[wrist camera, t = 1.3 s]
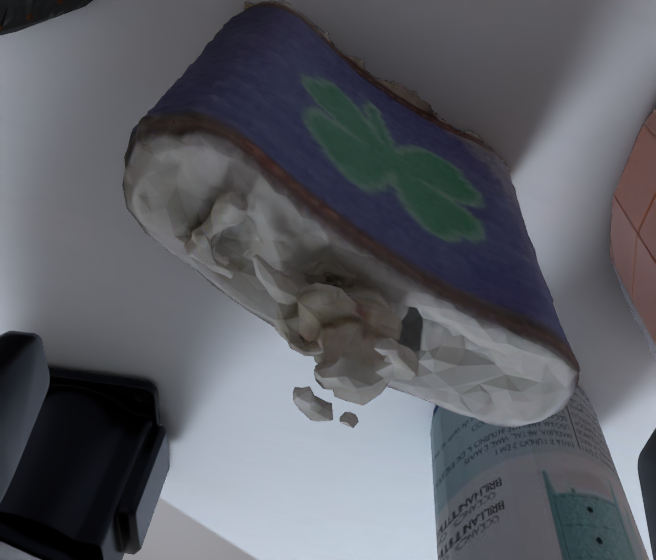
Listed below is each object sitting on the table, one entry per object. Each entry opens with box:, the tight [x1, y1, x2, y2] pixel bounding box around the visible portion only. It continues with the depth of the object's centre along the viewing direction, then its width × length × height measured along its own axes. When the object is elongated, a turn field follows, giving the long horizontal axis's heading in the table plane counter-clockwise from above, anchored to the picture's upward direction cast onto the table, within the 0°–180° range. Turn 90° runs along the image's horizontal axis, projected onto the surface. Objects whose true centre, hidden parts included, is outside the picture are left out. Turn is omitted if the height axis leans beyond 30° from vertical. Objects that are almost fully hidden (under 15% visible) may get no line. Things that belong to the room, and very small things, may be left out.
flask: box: [122, 2, 580, 428], centre depth 13 cm, size 9×3×11 cm, turn 57°
